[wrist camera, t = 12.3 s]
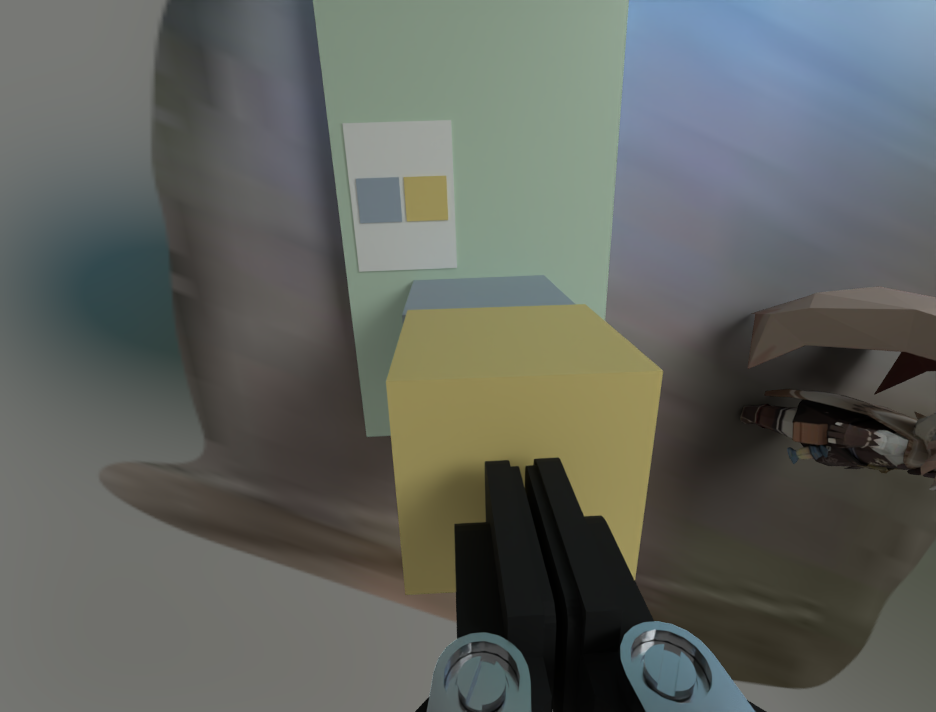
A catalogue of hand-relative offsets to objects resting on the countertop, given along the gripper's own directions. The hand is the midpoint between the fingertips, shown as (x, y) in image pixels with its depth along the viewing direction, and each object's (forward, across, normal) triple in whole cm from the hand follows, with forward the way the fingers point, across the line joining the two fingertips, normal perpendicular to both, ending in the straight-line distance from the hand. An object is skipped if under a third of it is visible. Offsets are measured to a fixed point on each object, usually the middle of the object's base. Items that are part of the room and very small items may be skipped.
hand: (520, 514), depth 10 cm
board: (+14, 0, -6) cm, 15 cm away
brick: (+7, 0, 0) cm, 7 cm away
